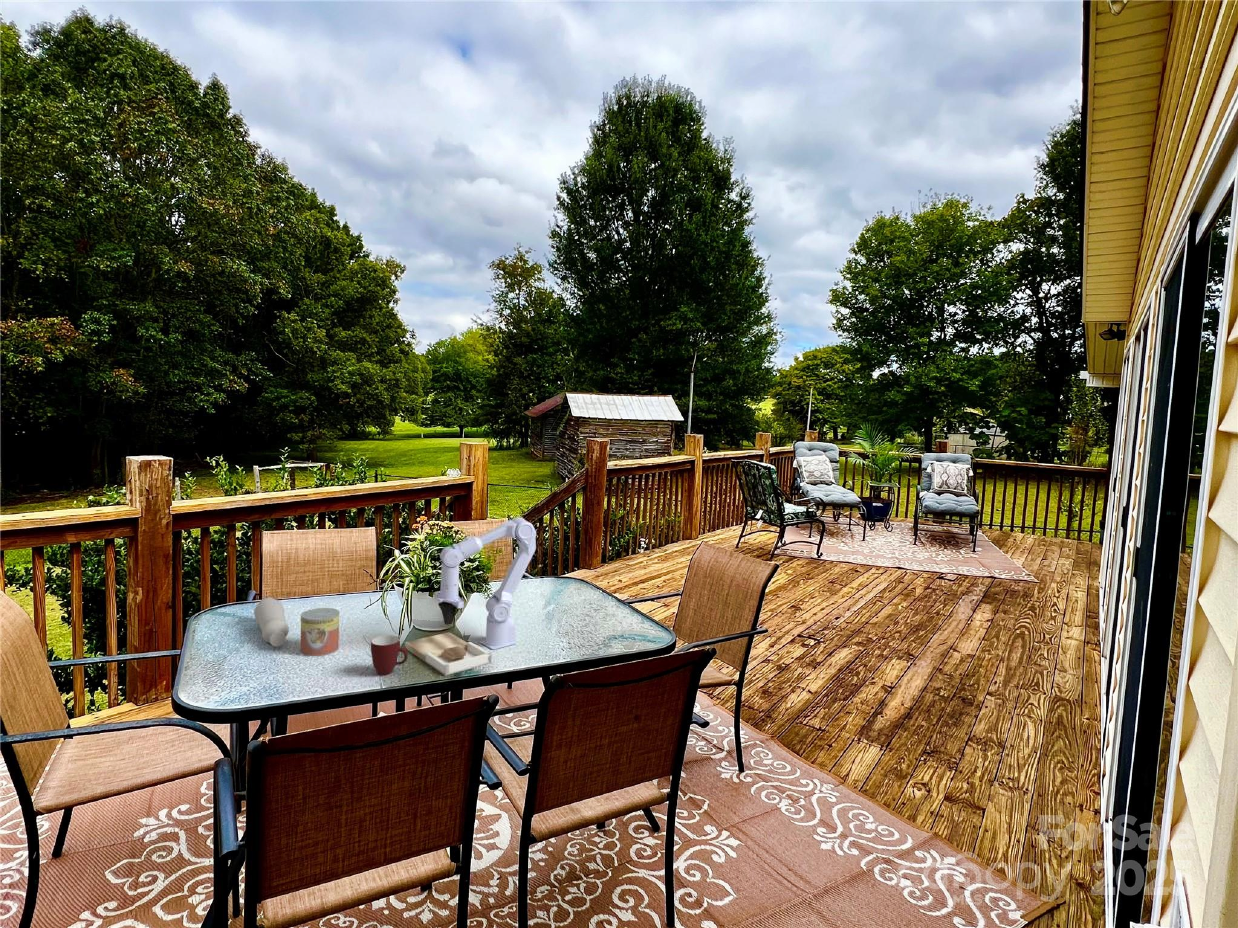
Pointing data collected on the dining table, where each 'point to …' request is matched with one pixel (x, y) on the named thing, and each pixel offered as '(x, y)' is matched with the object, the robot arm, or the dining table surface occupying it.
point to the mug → (386, 653)
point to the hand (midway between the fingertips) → (448, 623)
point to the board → (434, 645)
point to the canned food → (319, 632)
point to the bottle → (272, 621)
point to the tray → (471, 660)
